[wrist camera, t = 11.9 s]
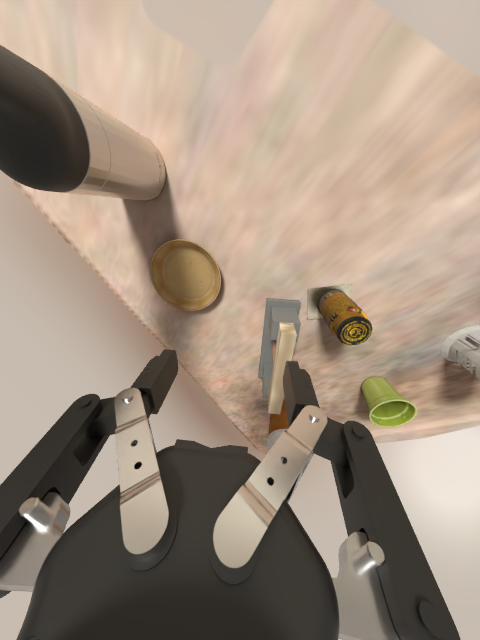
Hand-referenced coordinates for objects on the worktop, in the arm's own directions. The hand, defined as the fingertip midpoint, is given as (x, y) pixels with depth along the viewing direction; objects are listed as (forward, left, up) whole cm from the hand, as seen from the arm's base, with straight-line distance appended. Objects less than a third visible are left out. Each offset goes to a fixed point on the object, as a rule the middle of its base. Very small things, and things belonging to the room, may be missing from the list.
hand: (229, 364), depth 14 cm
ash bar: (+7, -18, -21) cm, 28 cm away
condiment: (+17, -7, -30) cm, 35 cm away
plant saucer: (-13, -3, -30) cm, 33 cm away
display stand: (+7, -18, -30) cm, 35 cm away
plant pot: (+34, -29, -30) cm, 53 cm away
